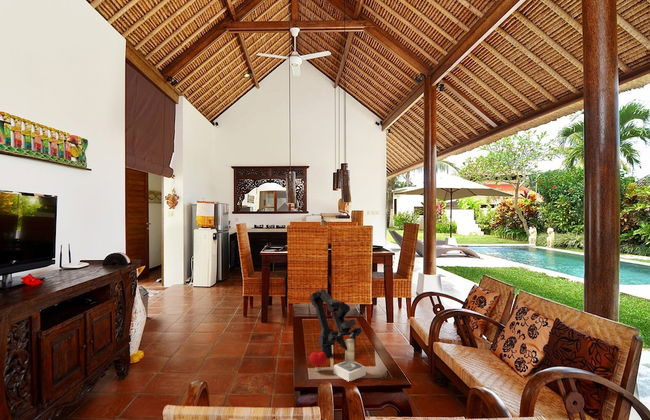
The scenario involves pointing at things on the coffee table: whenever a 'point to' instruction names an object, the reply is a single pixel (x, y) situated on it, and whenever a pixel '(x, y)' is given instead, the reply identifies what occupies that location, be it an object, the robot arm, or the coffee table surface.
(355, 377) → the socket block
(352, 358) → the beech pin
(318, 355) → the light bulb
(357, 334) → the robot arm
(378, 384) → the coffee table surface
